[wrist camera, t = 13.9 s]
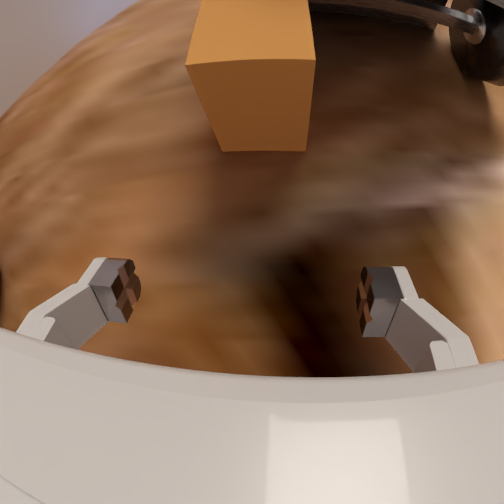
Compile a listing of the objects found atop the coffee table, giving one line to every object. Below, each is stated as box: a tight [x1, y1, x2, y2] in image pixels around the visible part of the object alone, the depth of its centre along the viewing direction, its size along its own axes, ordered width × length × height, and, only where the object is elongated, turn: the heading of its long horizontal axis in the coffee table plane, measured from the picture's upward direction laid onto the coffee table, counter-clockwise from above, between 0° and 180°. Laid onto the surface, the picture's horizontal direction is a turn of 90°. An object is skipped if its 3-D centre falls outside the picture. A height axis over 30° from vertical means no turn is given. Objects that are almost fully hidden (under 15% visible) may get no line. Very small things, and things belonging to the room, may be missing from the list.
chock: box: [185, 0, 316, 152], centre depth 14 cm, size 5×5×8 cm
